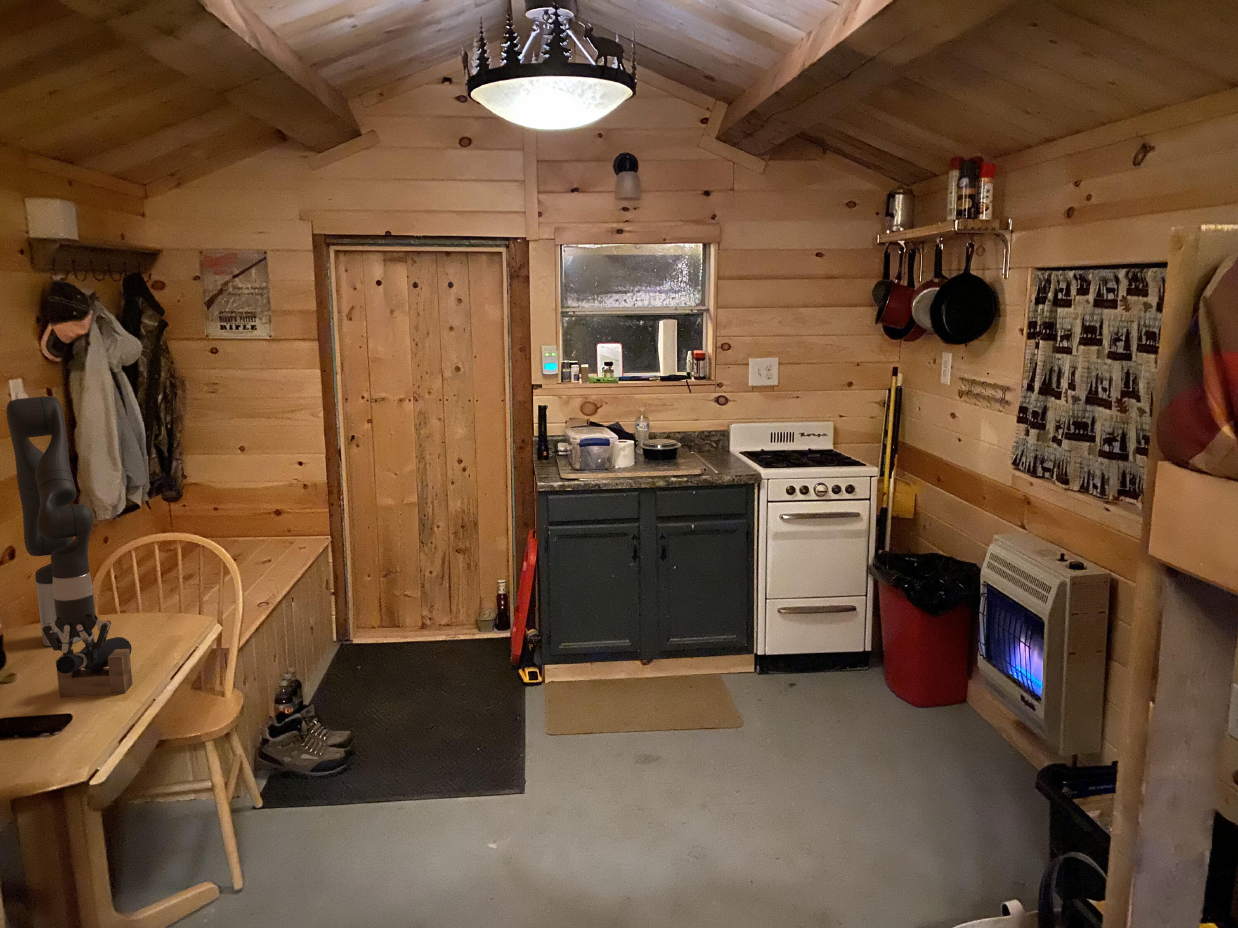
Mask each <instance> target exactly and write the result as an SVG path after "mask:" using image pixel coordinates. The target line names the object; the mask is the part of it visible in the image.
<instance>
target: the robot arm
mask: <svg viewBox="0 0 1238 928" xmlns="http://www.w3.org/2000/svg"><path fill="white" fill-rule="evenodd" d="M5 410H6V411H5V412H6V421H7V425H8V431H9V435H10V438H11V442H12V447H13V451H14V460H15V468H16V469H15V470H16V480H17V481H16V482H17V488H18V492H19V498H20V502H21V510H22V524H23V540H24V547H25V550H26V551H27V552H26V553H28V555H30V556H32V557H44V556H45V557H46V556H50V563H49V564H46V565H44V566H42V567H39V568H38V569H37V570H36V571H35V574H34V577H35V587H36V594H37V603H38V611H39V620H40V627H41V638H42V644H43V646H47V647H51V648H52V650H53V651H56V652H57V651H60V652H62V654H63V656H66V655H70V654H74V653H73V652H74V649H73V644H74V643H77V642H80V640H81V641H82V643H84V647H85V646H86V648H87V650H88V651H87V652H86V654H87V663H88V667H92V666H93V665H94V664H95V663H96V662H97V652H96V649H97V648H100V647H101V646H102V645H104V644H105V641H106V640H107V637H108V635H109V631H110V628H111V625H112V622H111V620H109V619H108V620H106V621H104V620H101V619H99V618H98V616H97V615H96V606H95V599H94V586H93V581H92V576H91V572H90V563H89V543H90V538H91V535H92V534H91V533H92V530H93V525H94V515H93V511H92V510H91V508H90V507H89V506H87V505H86V504H84V503H77V504H76V503H75V504H71V503H72V502H74V501H75V500H76V498H77V489H76V485H75V480H74V478H73V477H74V476H73V473H72V471H71V470H72V469H71V465H70V458H69V457H70V455H69V444H68V435H67V427H66V421H65V415H64V414H65V413H64V410H63V406H62V404H61V402H60V400H59V399H58V398H57V397H55V396H53V395H51V396H50V395H47V396H45V395H44V396H33V397H24V398H16V399H12V400H10V401H9V402H8V403H7V405H6V409H5ZM44 436H45V437H46V436H51V438H50V442H49V444H48V446H47V447H46V449H45V451H42V449H39V448H38V447H37V446H36V445H35V444H34V443H33V442H32V440H30V438H38V437H39V438H40V437H44ZM95 627H97V631H98V636H97V639H96V638H95V633H94V631H93V630H94V628H95Z"/></svg>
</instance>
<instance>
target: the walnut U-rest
mask: <svg viewBox="0 0 1238 928" xmlns="http://www.w3.org/2000/svg"><path fill="white" fill-rule="evenodd" d="M78 652H79V651H73V653H74V654H76V653H78ZM61 657H63V653H62V654H61V655H60V656H59V657H58V658H57V659H55V664H56V663H57V661H58V659H60V658H61ZM131 663H132V662H131V654H130V652H129V649H116V650H115V651H114V652H113V653H112V654H111V655H110V656H109V657H108V667H105V668H102V669H99V670H86V669H84V668H83V669H78V670H76V671H74V672H71V673H67V674H63V673H60V672H59V671H58V670H57V669H56V675H57V684H58V693H59V698H72V697H73V698H74V697H85V696H102V695H103V696H105V695H119V694H126V692H128V691H129V689H131V687H132V686H133V684H134V683H133V674H132V673H133V672H132V664H131Z"/></svg>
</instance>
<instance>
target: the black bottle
mask: <svg viewBox="0 0 1238 928" xmlns="http://www.w3.org/2000/svg"><path fill="white" fill-rule="evenodd" d="M116 649H129V652H130V655H131V654H132V644H131V643H130V641H129V640H128V639H127V638H125V637H121V636H115V637H112V638H111V637H110V638H108V639H107V638H106V641H105V644H104V645H102V646H101V647H100V648H97V649H96V652H97V662H96V663H95V664H94V665H93V666H92V667H88V663H87V654H86V652H87V651H88V650H87V648H86V646H85V645H84V647H82V649H80V651H77V652H78V653H76V654H70V655H66V656H63V657H61V658H60V659H58V658H57V659H58V661H57V663H56V662H55V666H56V671H57V670H58V671H59V672H60V673H63V674H67V673H71V672H74V671H76V670H78V669H86V670H99V669H102V668H109V667H108V657H109V656H110V655H111V654H112V653H113V652H114V651H115V650H116Z"/></svg>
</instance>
